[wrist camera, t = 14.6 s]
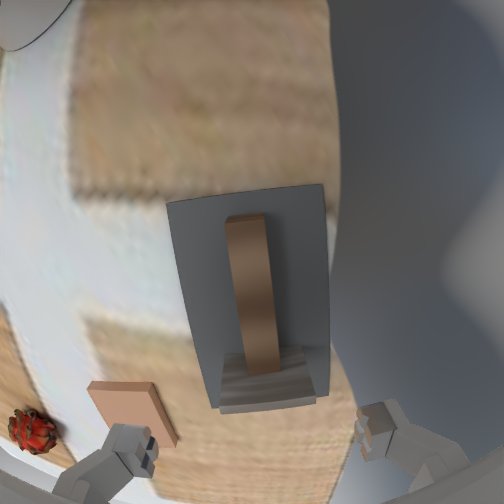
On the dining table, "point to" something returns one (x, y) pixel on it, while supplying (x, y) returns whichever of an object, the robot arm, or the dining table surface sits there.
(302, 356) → the wooden post on base
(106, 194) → the dining table surface
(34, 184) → the dining table surface
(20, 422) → the dragon fruit
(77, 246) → the dining table surface
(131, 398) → the tile
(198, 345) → the mat
